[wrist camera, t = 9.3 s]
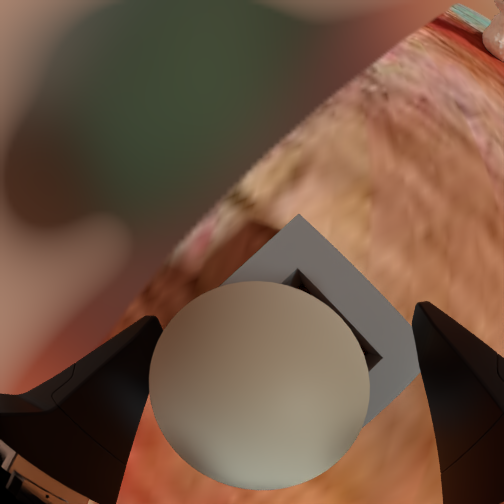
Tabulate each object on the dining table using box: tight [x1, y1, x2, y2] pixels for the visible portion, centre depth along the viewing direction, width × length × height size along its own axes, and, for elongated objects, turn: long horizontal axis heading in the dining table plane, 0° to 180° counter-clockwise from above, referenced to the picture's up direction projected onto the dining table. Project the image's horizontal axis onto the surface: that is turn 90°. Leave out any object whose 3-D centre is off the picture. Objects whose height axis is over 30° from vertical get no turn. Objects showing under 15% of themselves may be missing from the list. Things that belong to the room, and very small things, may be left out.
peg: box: [149, 281, 370, 490], centre depth 10 cm, size 4×4×12 cm
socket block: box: [219, 214, 420, 428], centre depth 14 cm, size 10×10×4 cm
